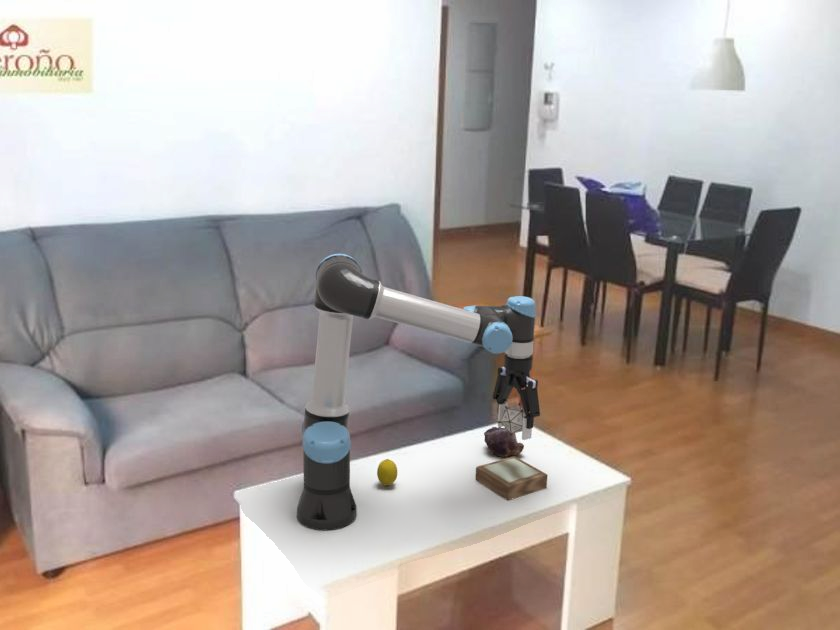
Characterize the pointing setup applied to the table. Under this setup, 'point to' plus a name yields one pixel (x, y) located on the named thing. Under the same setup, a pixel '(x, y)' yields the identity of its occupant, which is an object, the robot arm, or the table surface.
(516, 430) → the game die
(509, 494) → the framed mirror
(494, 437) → the rock
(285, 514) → the table surface
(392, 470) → the lemon
